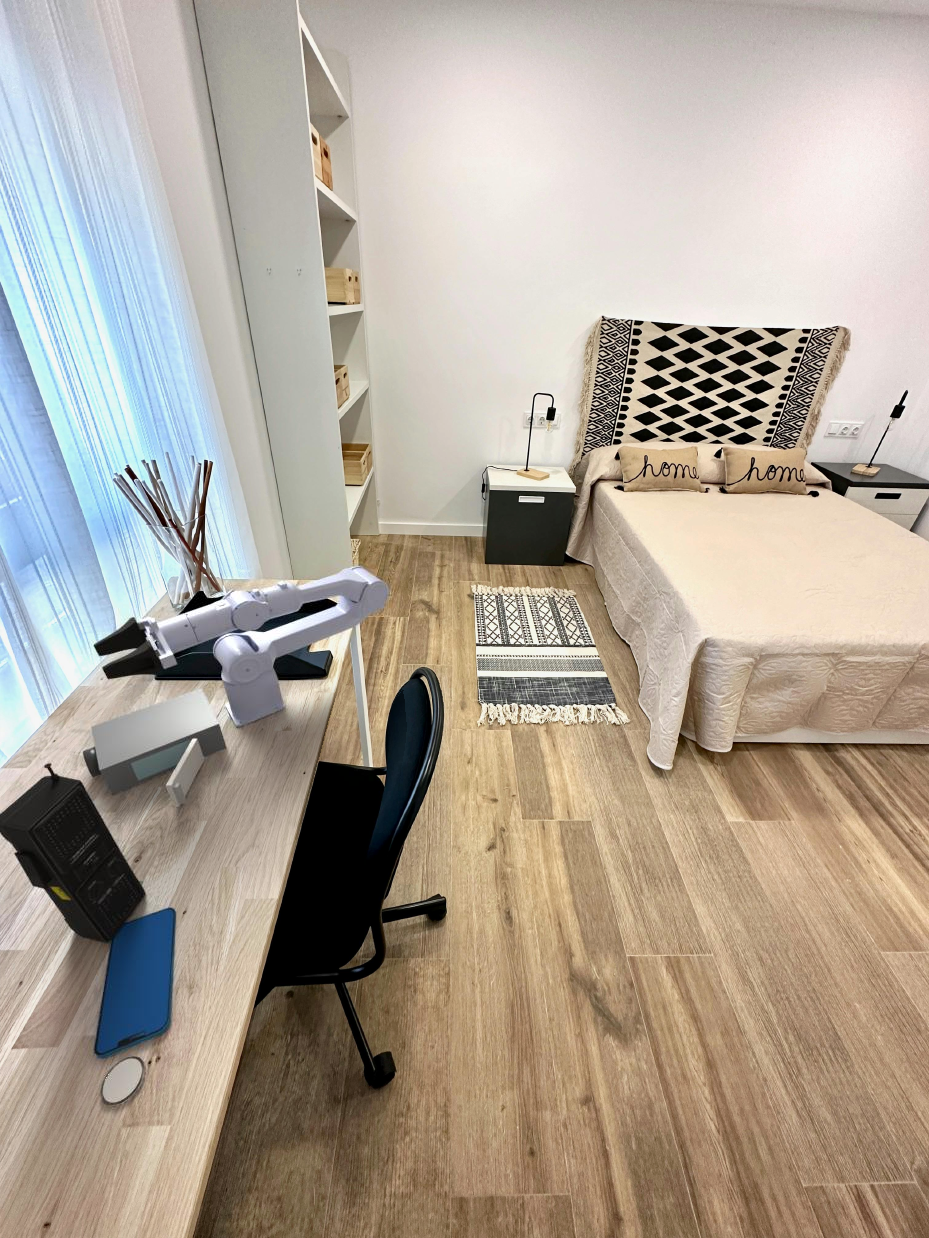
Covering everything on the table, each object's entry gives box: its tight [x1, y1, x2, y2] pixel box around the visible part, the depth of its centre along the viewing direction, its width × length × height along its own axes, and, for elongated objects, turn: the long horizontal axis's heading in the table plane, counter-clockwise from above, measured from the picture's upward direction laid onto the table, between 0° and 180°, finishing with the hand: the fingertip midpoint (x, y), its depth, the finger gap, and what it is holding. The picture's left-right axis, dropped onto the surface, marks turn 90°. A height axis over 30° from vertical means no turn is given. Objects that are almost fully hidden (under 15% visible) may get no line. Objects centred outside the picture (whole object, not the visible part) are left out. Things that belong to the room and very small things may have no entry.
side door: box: [165, 739, 205, 808], centre depth 84 cm, size 10×2×5 cm, turn 2°
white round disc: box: [99, 1055, 147, 1108], centre depth 53 cm, size 4×4×1 cm
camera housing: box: [82, 687, 227, 796], centre depth 90 cm, size 20×12×6 cm, turn 127°
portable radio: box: [0, 762, 147, 944], centre depth 61 cm, size 8×6×25 cm
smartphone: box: [93, 907, 177, 1060], centre depth 61 cm, size 7×1×15 cm
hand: (100, 661), depth 80 cm, fingers open, 7 cm apart
